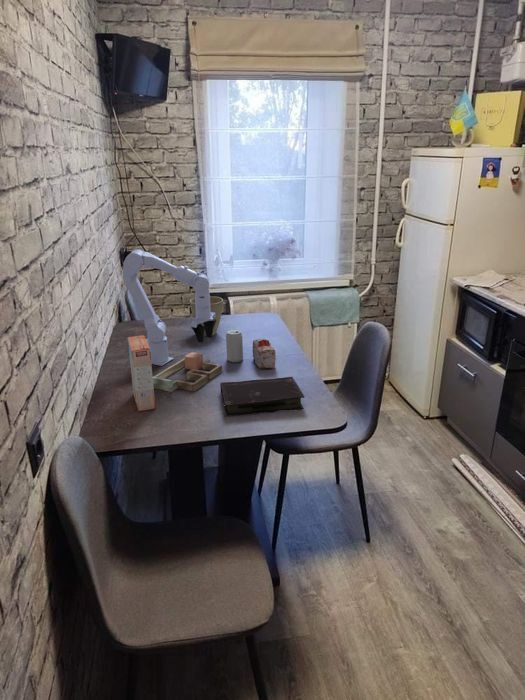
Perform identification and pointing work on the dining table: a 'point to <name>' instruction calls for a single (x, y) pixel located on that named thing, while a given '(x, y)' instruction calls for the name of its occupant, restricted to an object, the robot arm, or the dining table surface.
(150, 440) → the dining table surface
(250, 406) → the diary
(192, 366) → the block
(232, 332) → the beverage can
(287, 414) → the dining table surface
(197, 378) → the trap lane
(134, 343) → the cracker box
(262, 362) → the food item
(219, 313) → the plant pot
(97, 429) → the dining table surface
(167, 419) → the dining table surface
